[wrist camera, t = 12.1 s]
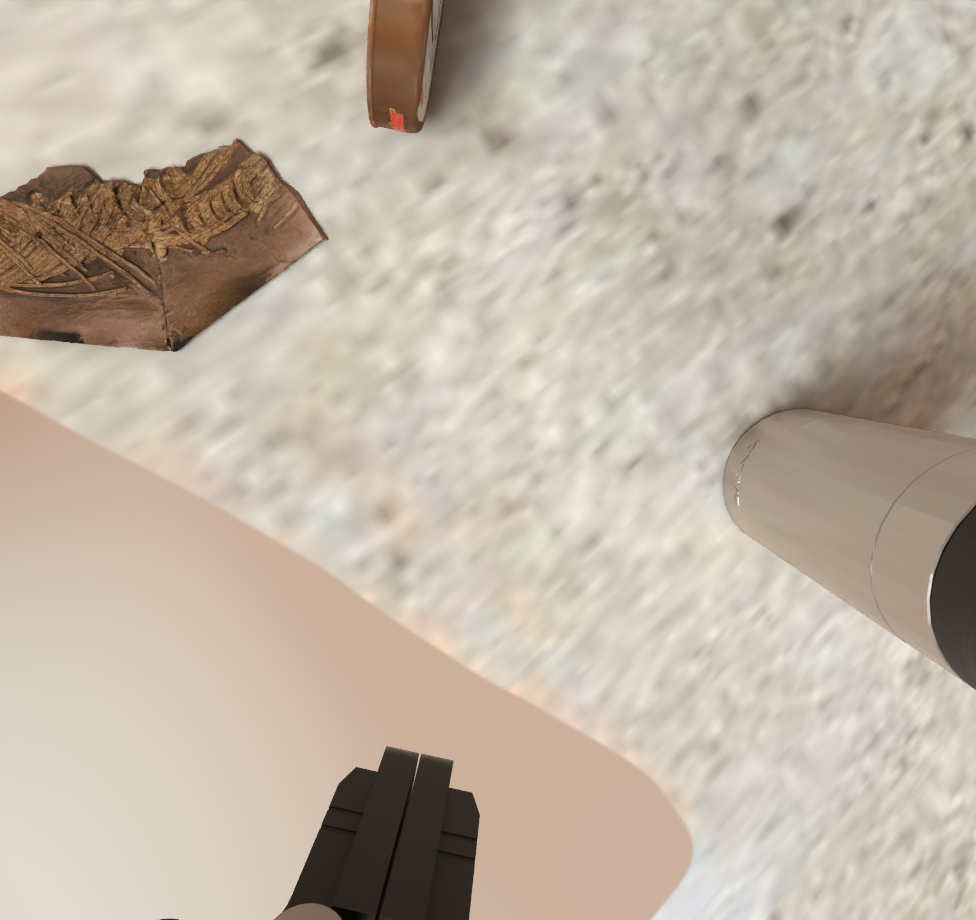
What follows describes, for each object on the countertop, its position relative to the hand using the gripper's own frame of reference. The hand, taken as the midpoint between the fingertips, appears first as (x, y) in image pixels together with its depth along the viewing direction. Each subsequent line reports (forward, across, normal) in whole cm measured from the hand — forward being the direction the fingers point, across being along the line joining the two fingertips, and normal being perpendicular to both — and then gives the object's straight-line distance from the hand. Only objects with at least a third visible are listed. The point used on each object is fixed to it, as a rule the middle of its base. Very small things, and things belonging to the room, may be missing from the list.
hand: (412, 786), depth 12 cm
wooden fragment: (+24, +25, -9) cm, 35 cm away
